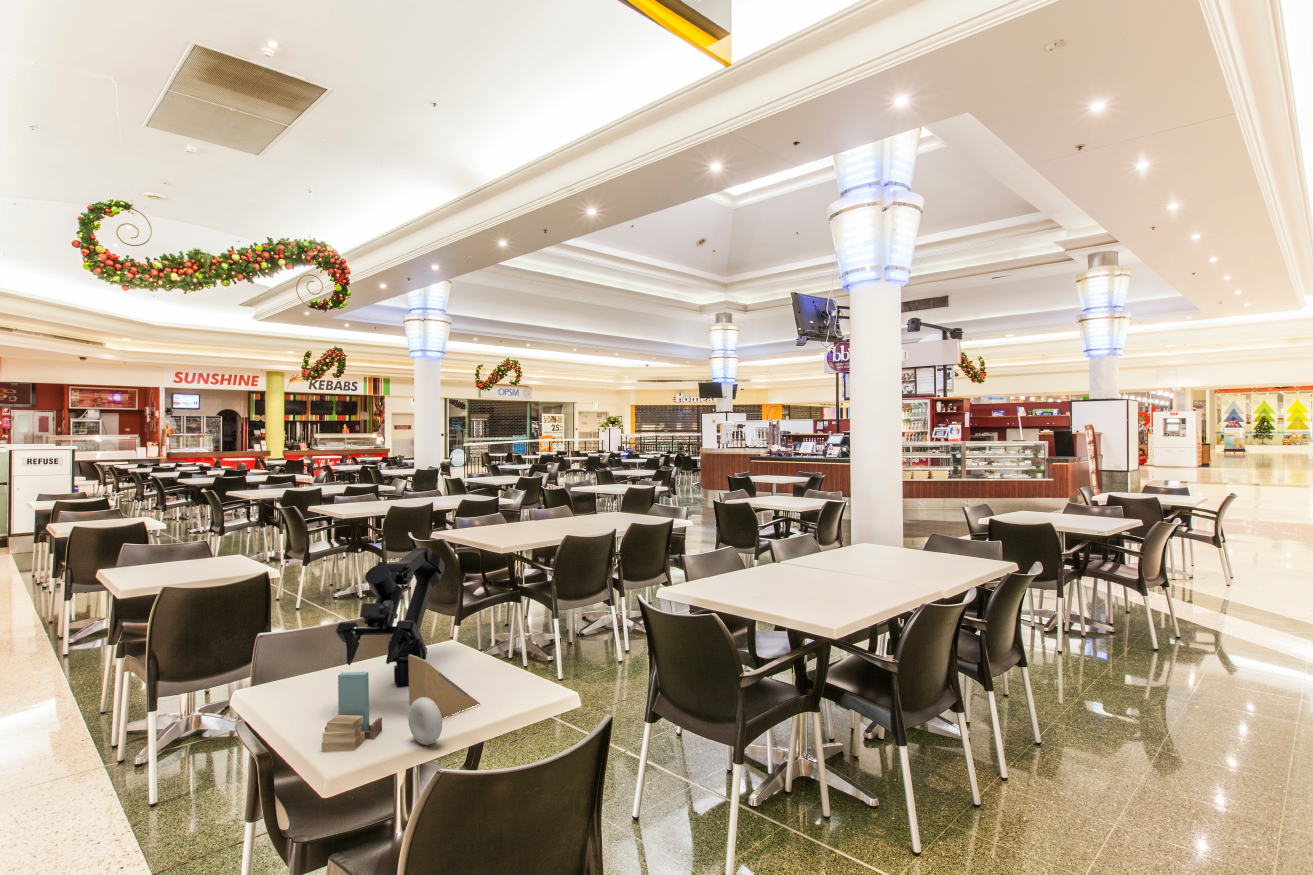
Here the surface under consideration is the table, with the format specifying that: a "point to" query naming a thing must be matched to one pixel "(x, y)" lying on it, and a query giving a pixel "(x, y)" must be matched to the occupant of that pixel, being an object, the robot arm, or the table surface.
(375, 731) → the rack
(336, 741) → the offcut stack
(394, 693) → the table surface
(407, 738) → the table surface
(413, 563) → the robot arm
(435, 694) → the sandwich container
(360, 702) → the teal rectangular block
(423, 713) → the donut
